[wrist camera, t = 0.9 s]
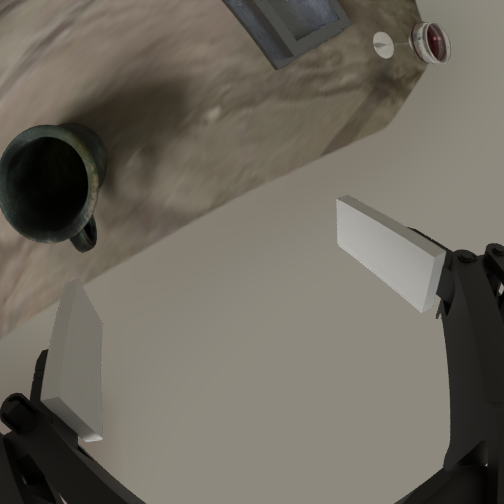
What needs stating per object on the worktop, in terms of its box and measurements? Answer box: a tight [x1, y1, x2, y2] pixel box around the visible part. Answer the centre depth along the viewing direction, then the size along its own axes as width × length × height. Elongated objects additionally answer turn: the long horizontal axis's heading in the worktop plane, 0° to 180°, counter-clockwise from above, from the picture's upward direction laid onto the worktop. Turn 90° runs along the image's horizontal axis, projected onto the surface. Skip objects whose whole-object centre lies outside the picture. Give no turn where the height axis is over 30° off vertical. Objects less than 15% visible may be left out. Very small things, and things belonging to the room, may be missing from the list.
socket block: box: [222, 0, 352, 70], centre depth 29 cm, size 13×13×5 cm
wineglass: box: [373, 21, 452, 64], centre depth 32 cm, size 7×7×12 cm
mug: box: [0, 123, 107, 253], centre depth 28 cm, size 11×15×12 cm
